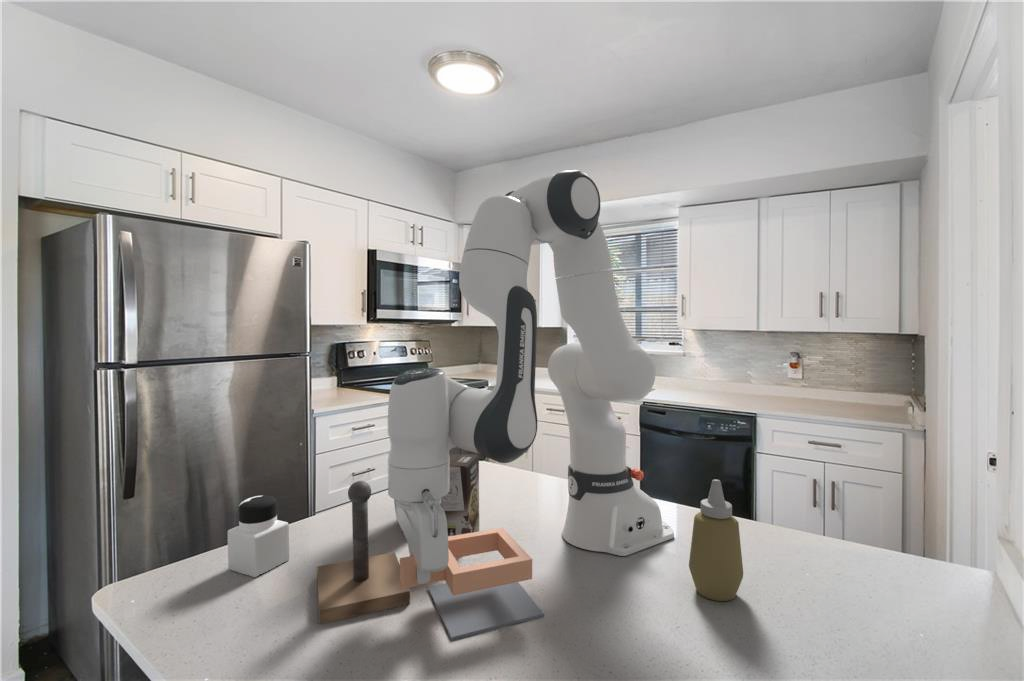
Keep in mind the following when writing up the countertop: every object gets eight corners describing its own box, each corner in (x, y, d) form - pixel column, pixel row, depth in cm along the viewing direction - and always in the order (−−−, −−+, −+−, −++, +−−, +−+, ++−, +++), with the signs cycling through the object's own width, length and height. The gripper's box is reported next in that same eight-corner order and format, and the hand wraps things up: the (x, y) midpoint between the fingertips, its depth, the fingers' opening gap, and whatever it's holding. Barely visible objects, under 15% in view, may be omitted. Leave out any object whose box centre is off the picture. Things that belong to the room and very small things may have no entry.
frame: (502, 544, 84) (502, 527, 84) (532, 579, 73) (532, 558, 73) (395, 564, 77) (394, 545, 77) (409, 605, 66) (409, 582, 66)
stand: (394, 563, 89) (393, 465, 88) (409, 603, 76) (408, 489, 75) (317, 577, 84) (315, 474, 83) (319, 623, 71) (316, 501, 70)
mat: (507, 572, 86) (507, 569, 86) (543, 616, 73) (543, 613, 73) (428, 589, 80) (428, 586, 80) (451, 640, 67) (451, 637, 67)
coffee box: (468, 550, 94) (467, 466, 93) (435, 547, 95) (434, 464, 94) (480, 530, 103) (480, 453, 102) (451, 528, 104) (450, 452, 103)
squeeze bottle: (718, 612, 73) (720, 492, 73) (677, 586, 80) (678, 477, 80) (754, 598, 77) (756, 483, 76) (712, 574, 84) (713, 470, 84)
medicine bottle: (290, 560, 90) (288, 495, 90) (255, 578, 84) (253, 508, 83) (263, 552, 93) (261, 490, 93) (227, 570, 87) (225, 502, 86)
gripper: (460, 500, 64) (460, 606, 64) (425, 460, 82) (425, 542, 83) (411, 507, 61) (411, 617, 62) (386, 464, 80) (387, 548, 81)
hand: (419, 573), depth 72 cm, fingers closed on frame, 3 cm apart
